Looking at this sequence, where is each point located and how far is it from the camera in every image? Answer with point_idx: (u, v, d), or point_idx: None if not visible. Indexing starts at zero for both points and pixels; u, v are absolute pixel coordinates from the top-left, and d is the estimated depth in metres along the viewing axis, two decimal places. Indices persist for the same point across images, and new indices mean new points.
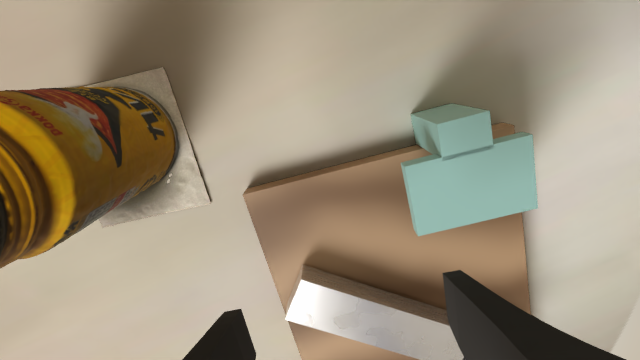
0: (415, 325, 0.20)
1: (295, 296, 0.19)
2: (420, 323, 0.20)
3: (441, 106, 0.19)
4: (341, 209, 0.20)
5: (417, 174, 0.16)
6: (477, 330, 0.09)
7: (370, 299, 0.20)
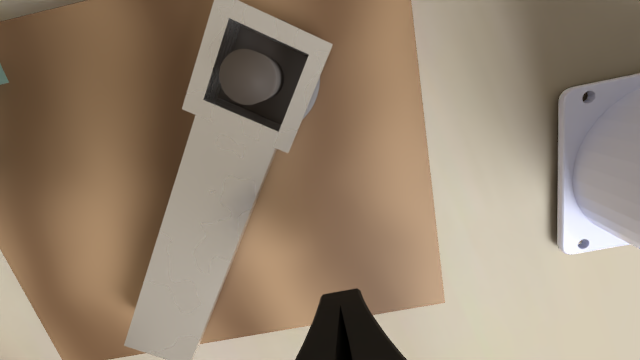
0: (187, 204, 0.12)
1: (150, 353, 0.15)
2: (182, 196, 0.12)
3: None
4: (64, 270, 0.16)
5: None
6: None
7: None
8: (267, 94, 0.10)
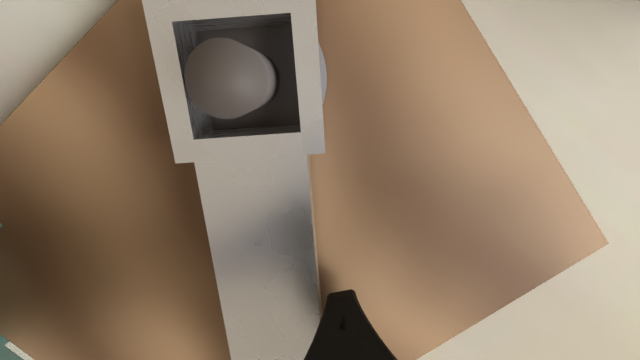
0: (237, 271, 0.10)
1: None
2: (228, 264, 0.10)
3: None
4: None
5: None
6: None
7: None
8: (261, 87, 0.07)
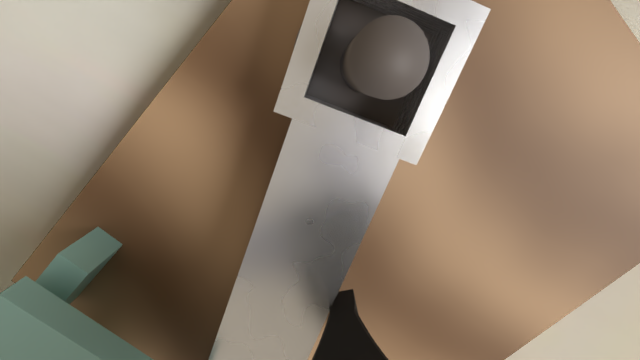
0: (275, 239, 0.09)
1: None
2: (270, 229, 0.09)
3: None
4: None
5: None
6: None
7: None
8: (426, 62, 0.07)
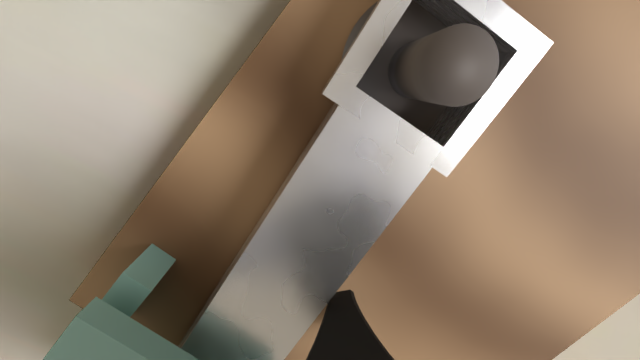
0: (292, 221, 0.09)
1: None
2: (288, 211, 0.09)
3: None
4: None
5: None
6: None
7: None
8: (495, 67, 0.07)
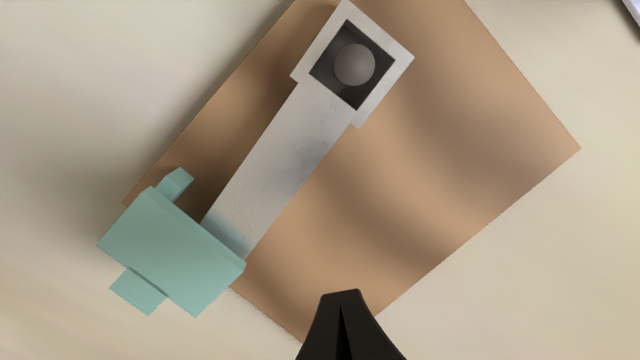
0: (268, 150, 0.16)
1: None
2: (267, 143, 0.16)
3: None
4: (287, 287, 0.20)
5: (193, 305, 0.17)
6: None
7: None
8: (373, 67, 0.13)
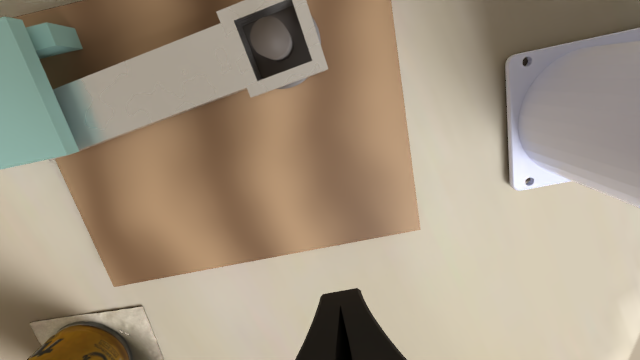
0: (161, 63, 0.15)
1: None
2: (163, 56, 0.15)
3: None
4: (117, 203, 0.19)
5: None
6: None
7: None
8: (284, 50, 0.14)
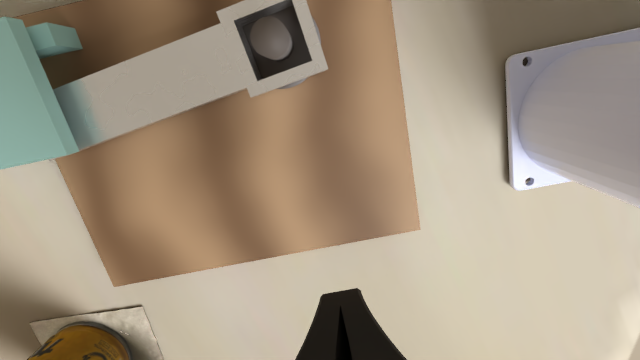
0: (161, 63, 0.15)
1: None
2: (163, 56, 0.15)
3: None
4: (117, 203, 0.19)
5: None
6: None
7: None
8: (284, 50, 0.14)
